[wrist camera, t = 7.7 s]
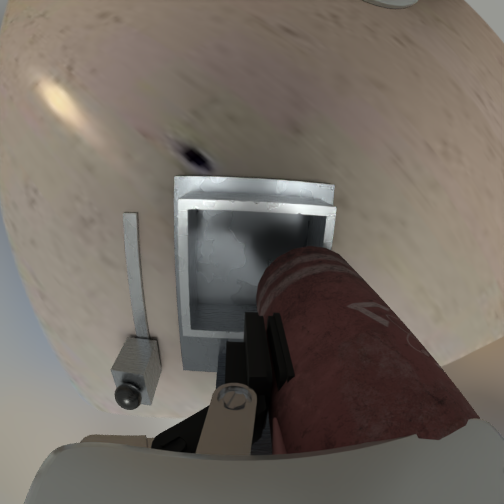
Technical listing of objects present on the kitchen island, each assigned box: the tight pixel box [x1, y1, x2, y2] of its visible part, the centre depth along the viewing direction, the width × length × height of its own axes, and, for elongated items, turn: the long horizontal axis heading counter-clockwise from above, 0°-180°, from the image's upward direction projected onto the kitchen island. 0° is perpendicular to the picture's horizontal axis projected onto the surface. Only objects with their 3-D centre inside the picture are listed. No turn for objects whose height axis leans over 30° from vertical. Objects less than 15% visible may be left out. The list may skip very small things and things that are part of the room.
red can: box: [256, 246, 480, 455], centre depth 10 cm, size 6×6×14 cm
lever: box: [111, 337, 162, 410], centre depth 22 cm, size 4×3×7 cm
